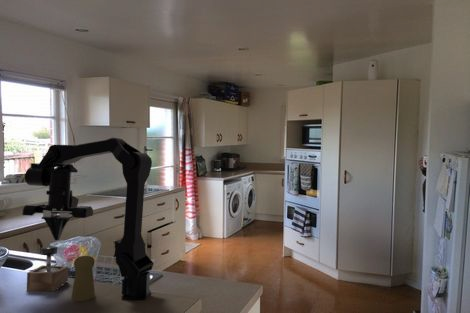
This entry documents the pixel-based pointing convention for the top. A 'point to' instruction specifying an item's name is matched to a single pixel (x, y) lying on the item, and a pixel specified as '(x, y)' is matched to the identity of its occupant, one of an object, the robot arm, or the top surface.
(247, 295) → the top surface
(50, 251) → the plunger
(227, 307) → the top surface
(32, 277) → the wooden box
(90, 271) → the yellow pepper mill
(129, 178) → the robot arm
